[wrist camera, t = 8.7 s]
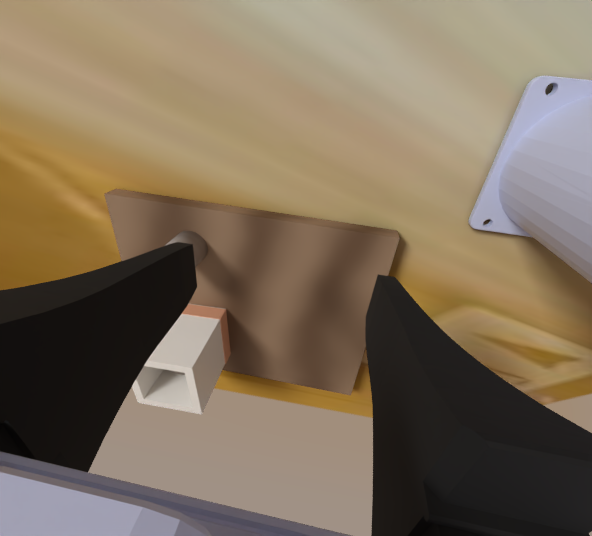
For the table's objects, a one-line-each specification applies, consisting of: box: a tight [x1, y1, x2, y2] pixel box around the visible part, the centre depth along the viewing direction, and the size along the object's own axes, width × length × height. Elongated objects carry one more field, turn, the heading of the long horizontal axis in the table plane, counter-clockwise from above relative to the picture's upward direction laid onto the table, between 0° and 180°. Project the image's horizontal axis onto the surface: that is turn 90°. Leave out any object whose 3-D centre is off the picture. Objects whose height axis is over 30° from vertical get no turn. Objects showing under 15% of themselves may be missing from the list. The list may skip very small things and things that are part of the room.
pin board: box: [105, 189, 400, 395], centre depth 22 cm, size 20×16×5 cm
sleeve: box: [132, 304, 231, 414], centre depth 23 cm, size 5×5×6 cm
